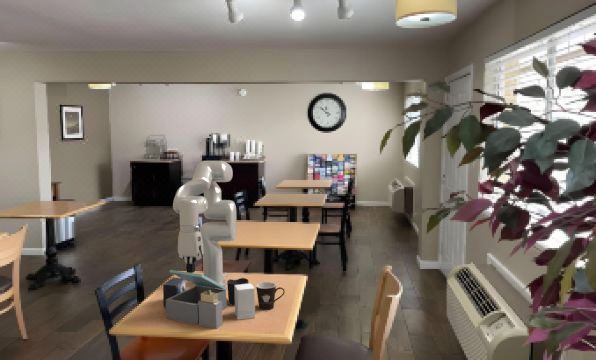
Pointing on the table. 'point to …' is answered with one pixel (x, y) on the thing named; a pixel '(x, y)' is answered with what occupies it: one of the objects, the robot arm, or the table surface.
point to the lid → (198, 279)
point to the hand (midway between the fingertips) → (190, 272)
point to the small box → (173, 288)
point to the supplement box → (244, 301)
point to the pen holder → (231, 288)
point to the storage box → (196, 307)
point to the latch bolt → (209, 296)
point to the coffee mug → (267, 295)
